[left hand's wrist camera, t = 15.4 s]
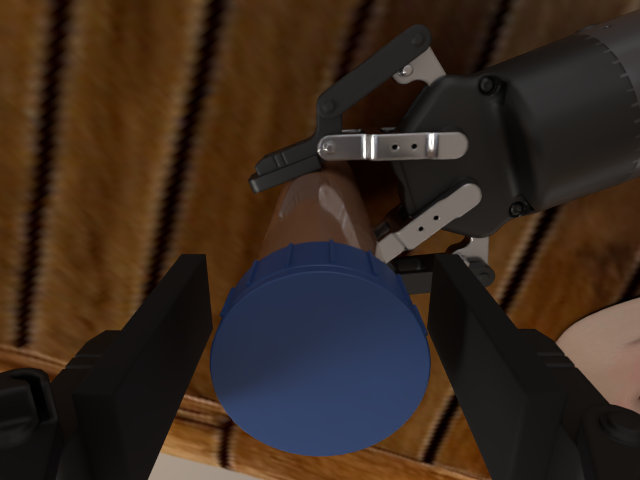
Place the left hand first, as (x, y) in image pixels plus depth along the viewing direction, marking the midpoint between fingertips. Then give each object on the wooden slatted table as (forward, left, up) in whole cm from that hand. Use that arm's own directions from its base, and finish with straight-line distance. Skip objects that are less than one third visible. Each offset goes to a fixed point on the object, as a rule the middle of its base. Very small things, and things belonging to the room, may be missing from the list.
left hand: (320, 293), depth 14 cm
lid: (0, 0, +4) cm, 4 cm away
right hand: (+2, -2, -9) cm, 10 cm away
